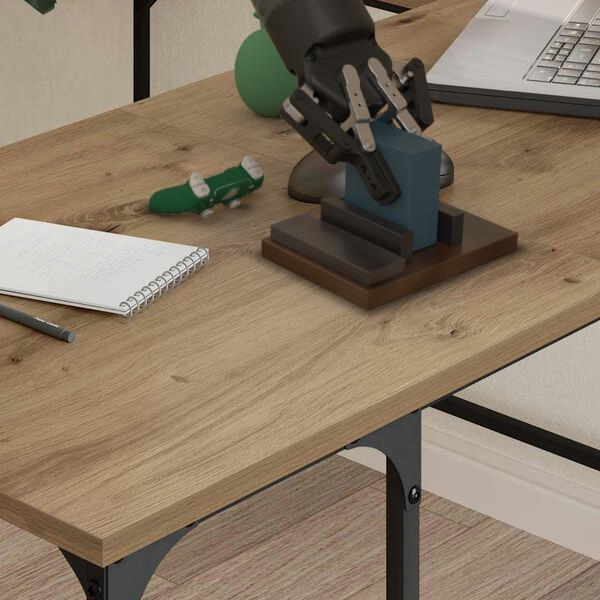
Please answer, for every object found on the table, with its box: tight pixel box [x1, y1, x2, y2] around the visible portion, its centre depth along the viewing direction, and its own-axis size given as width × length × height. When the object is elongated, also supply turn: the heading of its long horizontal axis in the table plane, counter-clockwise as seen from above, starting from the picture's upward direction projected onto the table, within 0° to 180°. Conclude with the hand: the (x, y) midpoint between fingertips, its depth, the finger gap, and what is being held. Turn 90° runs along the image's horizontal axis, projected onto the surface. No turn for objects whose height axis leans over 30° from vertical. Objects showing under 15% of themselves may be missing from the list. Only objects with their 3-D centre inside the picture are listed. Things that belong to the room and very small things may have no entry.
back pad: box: [344, 120, 443, 252], centre depth 107 cm, size 3×7×8 cm, turn 41°
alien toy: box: [234, 10, 299, 117], centre depth 136 cm, size 7×8×10 cm
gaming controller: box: [147, 154, 265, 219], centre depth 116 cm, size 9×4×6 cm
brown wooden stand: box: [260, 195, 519, 311], centre depth 109 cm, size 16×12×4 cm
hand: (410, 193), depth 106 cm, fingers closed on back pad, 3 cm apart
